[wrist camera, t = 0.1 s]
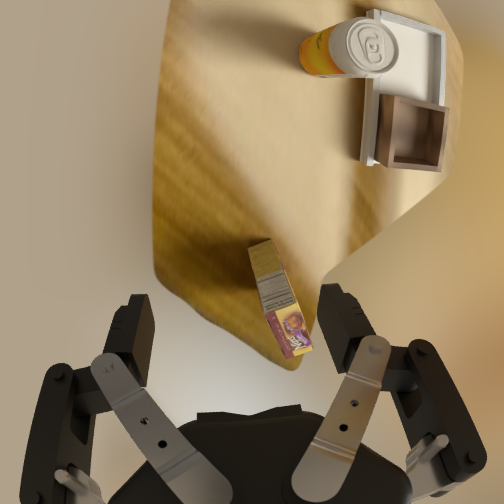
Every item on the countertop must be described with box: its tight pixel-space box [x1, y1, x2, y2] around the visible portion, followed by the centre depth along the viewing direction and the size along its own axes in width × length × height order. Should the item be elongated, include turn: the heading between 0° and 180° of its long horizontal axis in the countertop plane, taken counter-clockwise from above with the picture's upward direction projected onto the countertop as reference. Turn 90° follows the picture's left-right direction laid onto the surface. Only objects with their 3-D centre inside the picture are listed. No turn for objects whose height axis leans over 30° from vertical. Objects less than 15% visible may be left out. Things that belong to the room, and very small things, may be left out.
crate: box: [374, 93, 449, 172], centre depth 36 cm, size 10×10×5 cm
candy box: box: [248, 239, 313, 359], centre depth 42 cm, size 9×4×15 cm, turn 20°
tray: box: [360, 9, 446, 166], centre depth 35 cm, size 22×13×3 cm, turn 0°
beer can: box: [299, 17, 399, 78], centre depth 27 cm, size 6×6×15 cm
